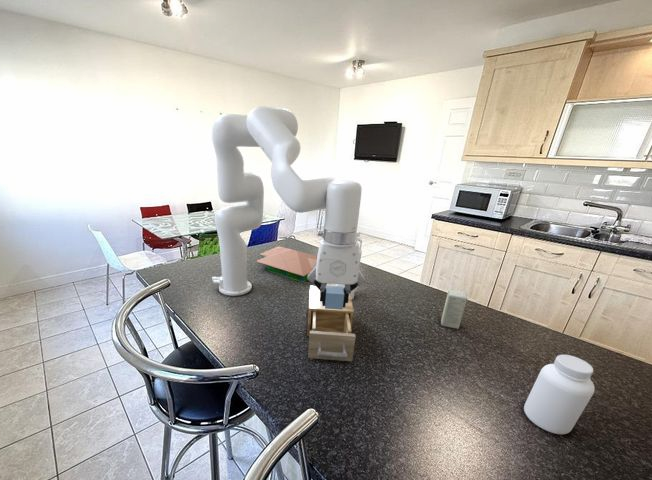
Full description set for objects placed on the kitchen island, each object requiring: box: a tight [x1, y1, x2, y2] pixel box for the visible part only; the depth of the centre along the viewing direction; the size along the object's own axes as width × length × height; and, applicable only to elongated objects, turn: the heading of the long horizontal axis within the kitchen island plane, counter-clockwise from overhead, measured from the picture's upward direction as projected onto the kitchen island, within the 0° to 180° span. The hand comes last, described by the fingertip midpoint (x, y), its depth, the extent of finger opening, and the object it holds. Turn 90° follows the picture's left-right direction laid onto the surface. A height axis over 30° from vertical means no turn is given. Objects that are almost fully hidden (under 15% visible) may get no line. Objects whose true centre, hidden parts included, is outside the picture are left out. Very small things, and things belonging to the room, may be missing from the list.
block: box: [325, 285, 344, 310], centre depth 75 cm, size 4×4×4 cm
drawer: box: [307, 311, 356, 362], centre depth 79 cm, size 18×11×8 cm, turn 174°
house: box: [255, 245, 317, 283], centre depth 133 cm, size 23×33×8 cm
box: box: [440, 289, 468, 330], centre depth 92 cm, size 5×4×11 cm
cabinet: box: [306, 285, 355, 337], centre depth 91 cm, size 15×13×10 cm
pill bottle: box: [523, 354, 595, 435], centre depth 59 cm, size 8×8×15 cm
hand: (333, 303), depth 76 cm, fingers closed on block, 4 cm apart
